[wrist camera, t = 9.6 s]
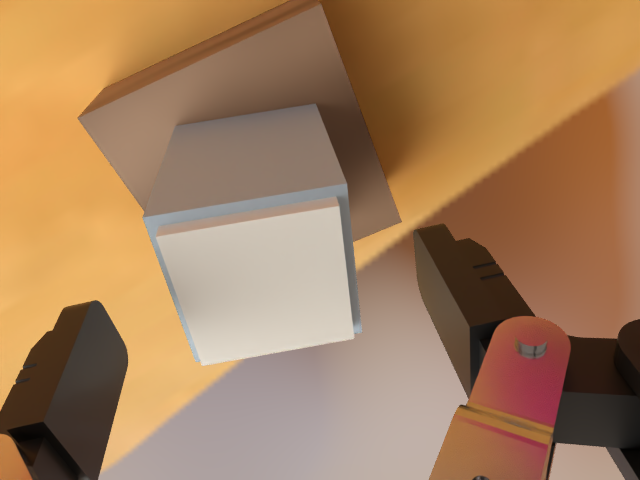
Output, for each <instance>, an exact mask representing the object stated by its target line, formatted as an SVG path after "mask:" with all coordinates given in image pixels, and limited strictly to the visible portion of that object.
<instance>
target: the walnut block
mask: <svg viewBox="0 0 640 480" xmlns="http://www.w3.org/2000/svg"><path fill="white" fill-rule="evenodd" d="M309 104H316V106H317V108H318V111H319V113H320V116H321V118H322V121H323V124H324V126H325V129H326V131H327V134H328V136H329V139H330V141H331V144H332V147H333V149H334V152H335V154H336V157H337V159H338V162H339V164H340V167H341V170H342V172H343V175H344V177H345V180H346V182H347V189H348V199H349V209H350V219H351V229H352V238H353V242H354V241H357V240H359V239H361V238H364V237H366V236H369V235H371V234H374V233H376V232H378V231H381V230H383V229H386V228H388V227H391V226H393V225H395V224H398V223H400V222H402V221H401V219H400V216H399V213H398V210H397V208H396V205H395V202H394V200H393V197H392V194H391V192H390V189H389V186H388V183H387V181H386V178H385V175H384V173H383V170H382V167H381V164H380V162H379V159H378V156H377V154H376V151H375V148H374V146H373V143H372V140H371V137H370V135H369V132H368V129H367V127H366V124H365V121H364V118H363V116H362V113H361V110H360V108H359V105H358V102H357V100H356V97H355V94H354V91H353V89H352V86H351V83H350V81H349V78H348V75H347V72H346V70H345V67H344V64H343V62H342V59H341V56H340V54H339V51H338V48H337V45H336V43H335V40H334V37H333V35H332V32H331V29H330V26H329V24H328V21H327V18H326V16H325V13H324V10H323V8H322V5H321V3H320V2H319V1H318V0H290V1H288V2H286V3H284V4H282V5H279V6H277V7H275V8H273V9H271V10H269V11H267V12H265V13H263V14H260V15H258V16H256V17H254V18H252V19H250V20H248V21H246V22H244V23H241V24H239V25H237V26H235V27H233V28H231V29H229V30H227V31H225V32H222V33H220V34H218V35H216V36H214V37H212V38H210V39H208V40H206V41H203V42H201V43H199V44H197V45H195V46H193V47H191V48H189V49H187V50H184V51H182V52H180V53H178V54H176V55H174V56H172V57H170V58H168V59H165V60H163V61H161V62H159V63H157V64H155V65H153V66H151V67H149V68H146V69H144V70H142V71H140V72H138V73H136V74H134V75H132V76H130V77H128V78H125V79H123V80H121V81H119V82H117V83H115V84H113V85H111V86H109V87H106V88H104V89H103V90H102V91H101V92H100V93H99V94H98V96H97V97H96V98H95V99H94V100H93V101H92V102H91V103H90V105H89V106H88V107H87V108H86V109H85V110H84V111H83V112H82V114H81V115H80V116H79V117H78V120H79V121H80V122H81V124H82V125H83V127H84V128H85V129H86V131H87V132H88V134H89V135H90V136H91V138H92V139H93V141H94V142H95V143H96V145H97V146H98V148H99V149H100V150H101V152H102V153H103V154H104V156H105V157H106V159H107V160H108V161H109V163H110V164H111V166H112V167H113V168H114V170H115V171H116V173H117V174H118V175H119V177H120V178H121V180H122V181H123V182H124V184H125V185H126V187H127V188H128V189H129V191H130V192H131V194H132V195H133V196H134V198H135V199H136V201H137V202H138V203H139V205H140V206H141V207H142V209H143V210H144V212H145V209H146V206H147V203H148V201H149V198H150V195H151V192H152V189H153V187H154V184H155V181H156V178H157V175H158V173H159V170H160V167H161V164H162V161H163V158H164V156H165V153H166V150H167V147H168V144H169V142H170V139H171V136H172V133H173V130H174V128H175V126H178V125H184V124H190V123H197V122H203V121H209V120H215V119H222V118H228V117H234V116H240V115H247V114H253V113H259V112H266V111H272V110H278V109H284V108H291V107H297V106H303V105H309Z"/></svg>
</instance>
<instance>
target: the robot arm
mask: <svg viewBox="0 0 640 480" xmlns="http://www.w3.org/2000/svg"><path fill="white" fill-rule="evenodd" d="M413 238H414V249H415V260H416V271H417V280H418V286H419V290H420V293H421V296H422V299H423V302H424V304H425V306H426V308H427V311H428V313H429V315H430V316H431V319H432V321H433V323H434V326H435V328H436V330H437V332H438V334H439V336H440V339H441V341H442V343H443V345H444V347H445V349H446V351H447V354H448V356H449V358H450V360H451V362H452V364H453V366H454V369H455V371H456V373H457V375H458V377H459V379H460V382H461V384H462V386H463V388H464V390H465V392H466V394H467V397H468V399H469V400H468V403H467V404H466V406H465V405H460V406H459V407H458V408H457V410H456V412H455V414H454V416H453V419H452V421H451V424H450V427H449V429H448V432H447V434H446V437H445V439H444V442H443V445H442V447H441V450H440V452H439V455H438V458H437V460H436V462H435V465H434V468H433V470H432V473H431V475H430V478H429V480H549V477H550V473H551V468H552V463H553V458H554V453H555V448H556V444H557V443H565V444H577V445H589V446H600V447H606V448H607V450H608V452H609V454H610V455H611V457H612V459H613V460H614V462H615V464H616V465H617V467H618V468H619V470H620V472H621V473H622V475H623V477H624V478H625V480H640V319H639V320H635V321H632V322H629V323H628V324H626V325H624V326H623V327H622V329H621V330H620V332H619V334H618V339H607V338H606V339H605V338H580V337H574V336H568V335H566V333H565V332H564V331H563V330H562V329H561V328H560V327H559V326H557V325H556V324H554V323H552V322H550V321H548V320H545V319H542V318H539V317H536V316H535V315H534V313H533V312H532V311H531V309H530V308H529V307H528V305H527V304H526V302H525V301H524V300H523V298H522V297H521V296H520V294H519V293H518V292H517V290H516V289H515V287H514V286H513V285H512V283H511V282H510V281H509V279H508V278H507V276H506V275H505V276H504V273H503V271H502V270H501V268H500V267H499V265H498V264H496V261H495V260H494V259H493V257H492V256H491V254H490V253H489V252H488V250H487V249H486V248H485V247H483V246H482V245H479V244H478V243H476V242H475V241H473V240H471V239H470V238H468V239H464V240H459V241H455V239H454V238H453V236H452V234H451V233H450V231H449V230H448V228H447V227H446V225H445V224H439V225H434V226H430V227H425V228H420V229H416V230H414V232H413ZM127 367H128V354H127V349H126V346H125V343H124V341H123V340H122V338H121V336H120V334H119V333H118V331H117V329H116V327H115V326H114V324H113V322H112V320H111V319H110V317H109V315H108V313H107V312H106V310H105V308H104V307H103V305H102V304H101V303H100V302H99V301H96V300H95V301H91V302H86V303H82V304H77V305H73V306H68V307H65V308H64V309H63V310H62V312H61V314H60V316H59V318H58V320H57V322H56V324H55V327H54V329H53V331H48V332H47V333H46V334H45V335H44V336H43V337H42V338H41V339H40V340H39V341H38V342H37V343H36V344H35V346H34V347H33V348H32V349H31V351H30V353H29V355H28V357H27V359H26V361H25V363H24V365H23V370H21V371H20V373H19V375H18V377H17V379H16V384H14V385H13V387H12V389H11V391H10V393H9V395H8V397H7V399H6V401H5V403H4V405H3V407H2V409H1V411H0V480H98V477H99V473H100V470H101V466H102V462H103V458H104V454H105V451H106V447H107V443H108V439H109V435H110V432H111V428H112V424H113V420H114V416H115V413H116V409H117V405H118V401H119V397H120V394H121V390H122V386H123V382H124V378H125V375H126V371H127Z"/></svg>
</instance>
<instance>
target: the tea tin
mask: <svg viewBox="0 0 640 480" xmlns="http://www.w3.org/2000/svg"><path fill="white" fill-rule="evenodd" d="M142 218H143V220H144V223H145V226H146V228H147V231H148V234H149V237H150V239H151V242H152V245H153V247H154V250H155V253H156V256H157V258H158V261H159V264H160V266H161V269H162V272H163V275H164V277H165V280H166V283H167V285H168V288H169V291H170V293H171V296H172V299H173V302H174V304H175V307H176V310H177V312H178V315H179V318H180V321H181V323H182V326H183V329H184V331H185V334H186V337H187V340H188V342H189V345H190V348H191V350H192V353H193V356H194V359H195V361H196V362H200V361H201V364H202V366H205V365H210V364H216V363H222V362H227V361H233V360H238V359H244V358H249V357H255V356H261V355H266V354H272V353H277V352H283V351H288V350H294V349H299V348H305V347H311V346H316V345H322V344H327V343H332V342H338V341H344V340H350V339H354V334H356V333H362V328H361V319H360V308H359V298H358V288H357V278H356V268H355V258H354V248H353V238H352V229H351V219H350V209H349V199H348V189H347V182H346V180H345V177H344V175H343V172H342V170H341V167H340V164H339V162H338V159H337V157H336V154H335V152H334V149H333V147H332V144H331V141H330V139H329V136H328V134H327V131H326V129H325V126H324V124H323V121H322V118H321V116H320V113H319V111H318V108H317V106H316V104H309V105H303V106H297V107H291V108H284V109H278V110H272V111H266V112H259V113H253V114H247V115H240V116H234V117H228V118H222V119H215V120H209V121H203V122H197V123H190V124H184V125H178V126H175V128H174V130H173V133H172V136H171V139H170V142H169V144H168V147H167V150H166V153H165V156H164V158H163V161H162V164H161V167H160V170H159V173H158V175H157V178H156V181H155V184H154V187H153V189H152V192H151V195H150V198H149V201H148V203H147V206H146V209H145V212H144V215H143V217H142Z"/></svg>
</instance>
